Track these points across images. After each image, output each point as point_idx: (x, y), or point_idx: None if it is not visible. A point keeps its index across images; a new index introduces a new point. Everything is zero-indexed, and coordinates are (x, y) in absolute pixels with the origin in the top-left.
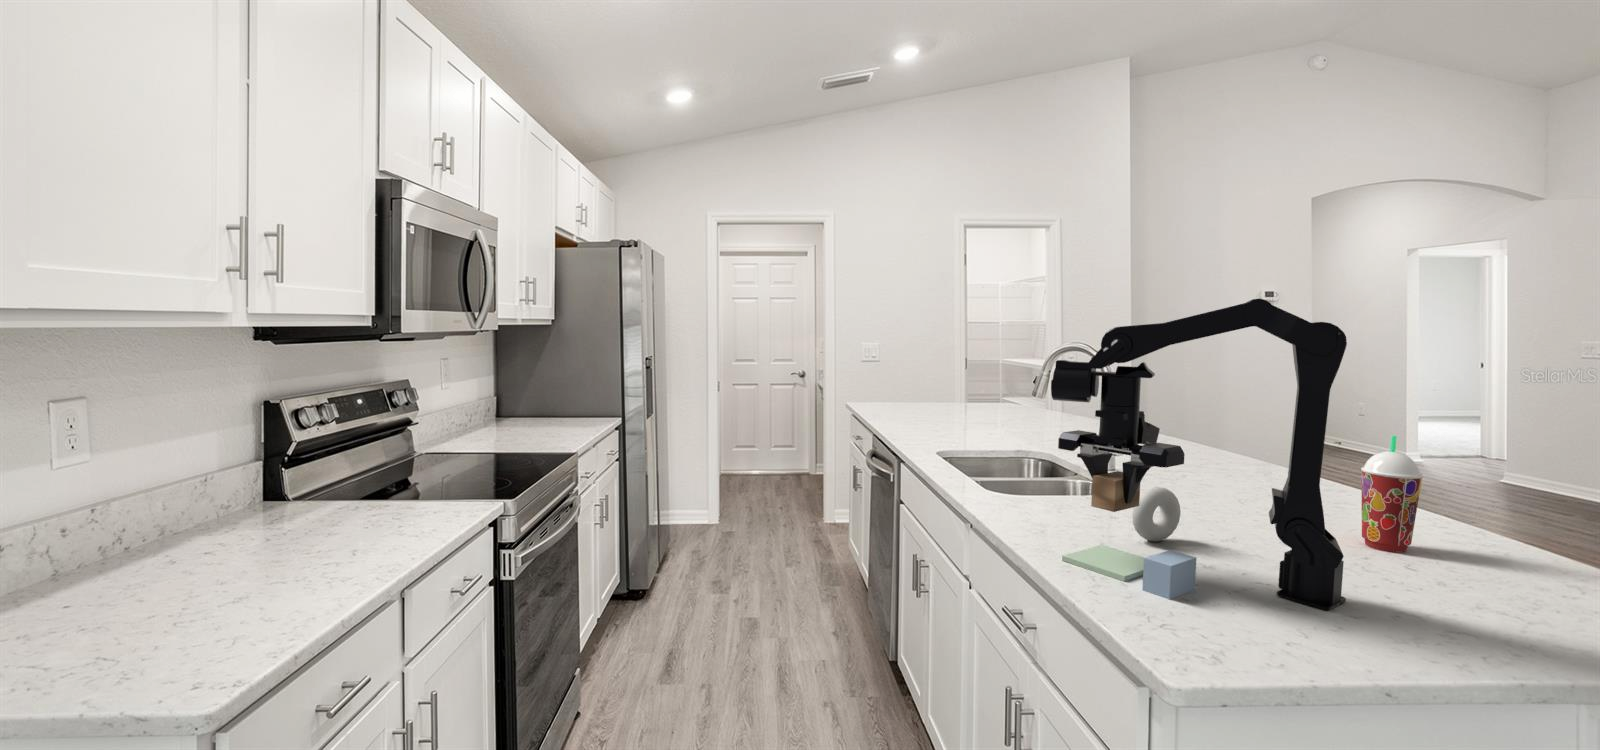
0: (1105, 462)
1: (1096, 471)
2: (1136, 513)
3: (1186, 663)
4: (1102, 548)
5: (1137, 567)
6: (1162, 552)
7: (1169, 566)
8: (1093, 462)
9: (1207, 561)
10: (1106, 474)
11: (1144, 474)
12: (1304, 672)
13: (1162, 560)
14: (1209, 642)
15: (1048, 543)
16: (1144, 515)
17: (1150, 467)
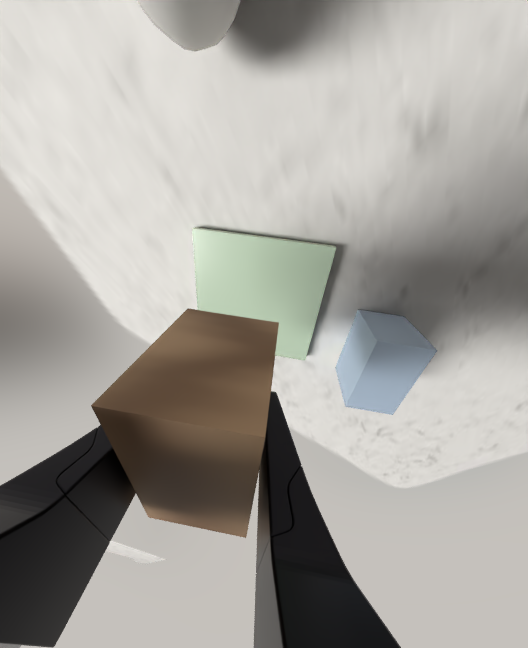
0: (47, 540)
1: (121, 516)
2: (162, 19)
3: (407, 471)
4: (209, 254)
5: (305, 312)
6: (366, 364)
7: (389, 412)
8: (83, 589)
9: (426, 63)
10: (148, 488)
11: (331, 540)
12: (515, 447)
13: (375, 401)
14: (426, 439)
15: (128, 277)
16: (196, 10)
17: (384, 628)
